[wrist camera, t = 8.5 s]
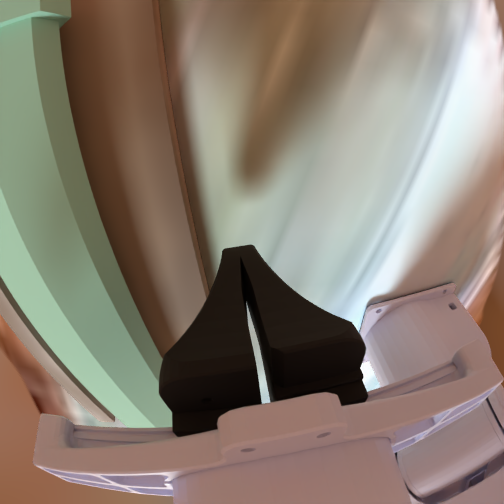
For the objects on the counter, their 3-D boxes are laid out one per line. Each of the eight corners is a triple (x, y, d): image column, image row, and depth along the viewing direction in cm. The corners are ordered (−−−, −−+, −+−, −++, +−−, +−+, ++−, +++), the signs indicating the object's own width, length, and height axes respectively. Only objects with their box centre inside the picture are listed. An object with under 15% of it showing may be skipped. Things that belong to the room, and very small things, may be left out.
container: (183, 463, 16) (-50, 1, 1) (114, 435, 18) (-93, 85, 3) (208, 396, 21) (105, -12, 6) (143, 377, 22) (15, 43, 7)
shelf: (156, -32, 7) (138, -65, 4) (231, 374, 24) (236, 415, 21) (-41, 62, 7) (-87, 75, 3) (104, 384, 23) (99, 421, 20)
